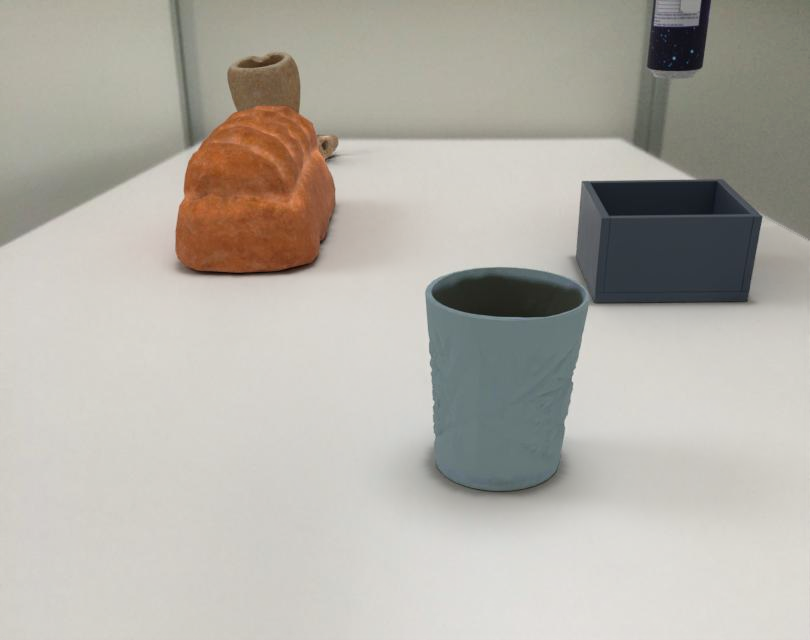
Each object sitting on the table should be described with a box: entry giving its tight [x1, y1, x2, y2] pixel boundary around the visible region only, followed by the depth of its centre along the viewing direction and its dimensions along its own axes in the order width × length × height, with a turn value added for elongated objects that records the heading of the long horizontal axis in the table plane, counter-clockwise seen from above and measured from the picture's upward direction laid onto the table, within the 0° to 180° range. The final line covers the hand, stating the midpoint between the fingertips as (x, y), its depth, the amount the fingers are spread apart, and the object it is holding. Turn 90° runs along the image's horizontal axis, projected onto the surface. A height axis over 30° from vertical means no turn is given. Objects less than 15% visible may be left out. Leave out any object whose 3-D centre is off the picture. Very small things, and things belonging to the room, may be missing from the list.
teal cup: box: [424, 266, 591, 492], centre depth 63 cm, size 10×10×12 cm
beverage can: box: [646, 0, 712, 80], centre depth 98 cm, size 6×6×12 cm
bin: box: [575, 178, 763, 304], centre depth 97 cm, size 15×15×8 cm
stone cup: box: [226, 51, 340, 160], centre depth 145 cm, size 15×12×15 cm
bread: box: [174, 106, 336, 274], centre depth 112 cm, size 16×31×13 cm, turn 178°
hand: (681, 9), depth 98 cm, fingers closed on beverage can, 5 cm apart
